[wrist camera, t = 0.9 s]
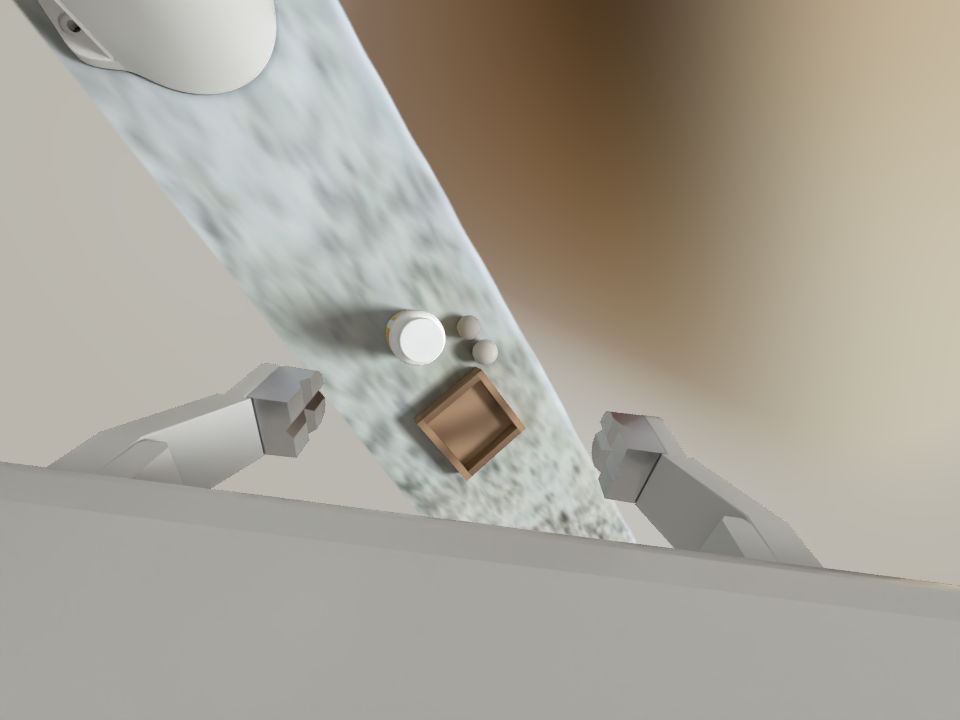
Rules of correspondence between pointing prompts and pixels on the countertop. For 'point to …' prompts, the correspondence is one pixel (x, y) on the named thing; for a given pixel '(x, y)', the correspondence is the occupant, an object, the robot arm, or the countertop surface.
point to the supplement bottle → (415, 336)
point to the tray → (470, 423)
